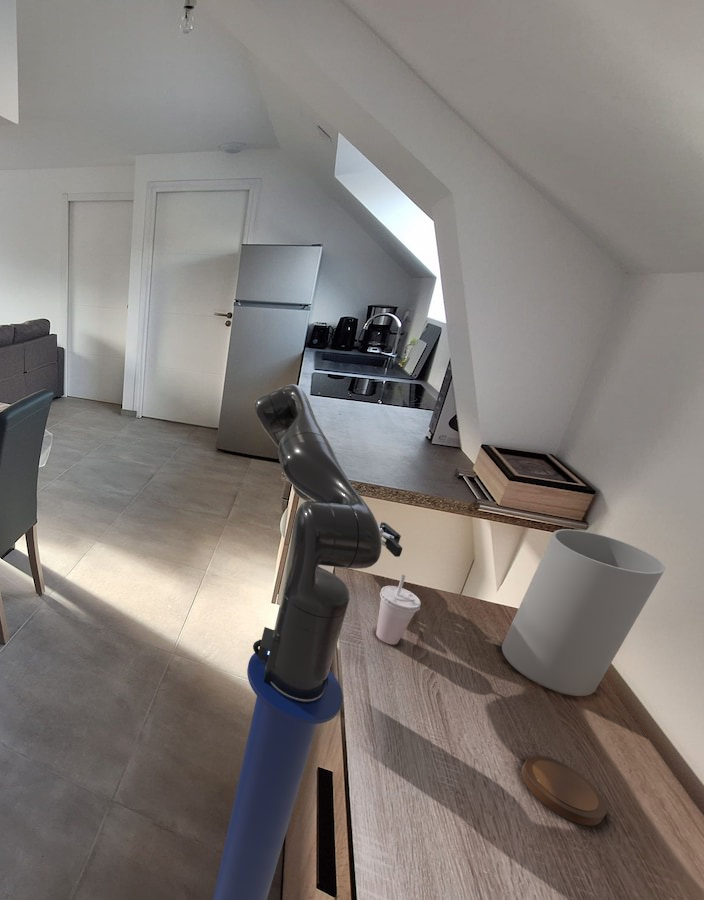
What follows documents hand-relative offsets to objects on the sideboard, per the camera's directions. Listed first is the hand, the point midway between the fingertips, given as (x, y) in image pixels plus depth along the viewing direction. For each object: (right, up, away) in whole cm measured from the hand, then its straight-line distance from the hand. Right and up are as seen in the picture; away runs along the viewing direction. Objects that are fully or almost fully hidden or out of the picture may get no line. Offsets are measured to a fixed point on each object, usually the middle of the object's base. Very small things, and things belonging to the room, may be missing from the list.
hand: (377, 551), depth 91 cm
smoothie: (-1, -16, -4) cm, 16 cm away
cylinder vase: (+24, -19, -10) cm, 32 cm away
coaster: (+6, -26, -30) cm, 40 cm away
